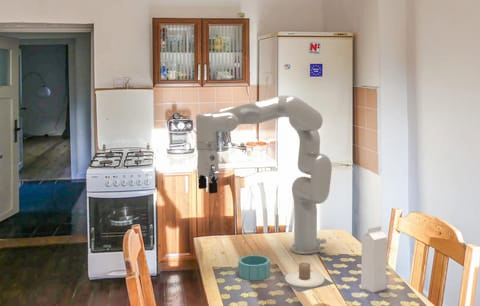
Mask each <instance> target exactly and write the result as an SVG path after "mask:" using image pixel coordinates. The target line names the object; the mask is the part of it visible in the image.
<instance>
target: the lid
mask: <svg viewBox="0 0 480 306" xmlns="http://www.w3.org/2000/svg"><path fill="white" fill-rule="evenodd" d="M310 270H311V263H309V262H300V263H299V264H298V270H295V271H291V272H289V273H287V274H286V276H285V275H284V276H285V281H286V283H287V284H289V285H291V286H294V287H298V288H314V287H318V286H321V285H322V284H323V283H324V278H325V277H324V276H323V275H322V274H321V273H319V272H316V271H313V272H312V270H311V271H310ZM287 284H286V285H287ZM318 288H319V287H318ZM314 289H315V288H314Z"/></svg>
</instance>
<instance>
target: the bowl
mask: <svg viewBox="0 0 480 306" xmlns="http://www.w3.org/2000/svg"><path fill="white" fill-rule="evenodd" d="M270 262H271V259H270V258H269V257H267V256H265V255H260V254H249V255H244V256H241V257H239V258H238V277H239V278H240V279H242V280H245V281H249V282H250V281H255V282H256V281H258V282H259V281H263V280H266V279H268V278H270V276H271V263H270Z"/></svg>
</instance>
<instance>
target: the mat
mask: <svg viewBox="0 0 480 306" xmlns="http://www.w3.org/2000/svg"><path fill="white" fill-rule="evenodd" d="M310 271H312V270H311V269H310ZM312 272H314V271H312ZM286 275H287V274H286ZM286 275H285V274H284V275H282V276H277V277H275V278H276V279H277V280H279V281H280V282H282V283H283V284H286V285H287V286H288V287H290V288H291V289H293V290H294V291H296V292H298V293H300V292H301V293H302V292H305V291H309V290H313V289H318V288H321V287H327V286H331V285H334V284H335V283H334V282H332V281H331V280H328V279H327V278H326V277H324V283H323V284H322V285H321V286H318V287H314V288H298V287H294V286H291V285H289V284H287V283H286V281H285V276H286Z"/></svg>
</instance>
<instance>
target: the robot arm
mask: <svg viewBox="0 0 480 306" xmlns="http://www.w3.org/2000/svg"><path fill="white" fill-rule="evenodd" d="M284 117H285V118H288V121H289V125H290V126H291V127H292V128H293V129H294V130H295V132H296V133H297V135H298V138H299V146H298V155H297V156H298V157H297V168H298V171H300V172H301V173H303V174H305V175H309V176H310V177H307V176H300V177H297V178H296V179H295V180H294V181H293V182H292V185H291V193H292V198H293V210H294V211H293V212H294V214H293V217H294V219H293V221H294V223H293V224H294V225H293V228H294V229H293V231H294V234H293V236H294V239H293V241H294V242H293V244H292V245H291V246H290V251H291V252H292V253H294V254H299V255H315V254H319V252H321V247H320V245H321V244H322V245H323V244H327V239H326V238H322V239H320V238H319V237H318V234H317V233H318V225H317V224H318V217H317V215H318V207H317V205H321V204H323V203H324V202H325V201H327V200H328V197H329V194H330V190H331V189H330V187H331V180H332V179H331V178H332V170H333V169H332V167H333V166H332V162H331V160H330V158H329V157H328V155H325V154H323V153H321V152H320V151H321V147H320V146H321V138H320V137H321V136H320V133H319V130H320V129H321V128H322V125H323V123H324V122H323V121H324V119H323V116H322V115H321V113H320V112H319V111H318V110H317V109H315V108H314V107H313V106H311V105H309V104H308V103H306V102H305V101H304V100H302V99H300V98H299V97H297V96H294V95H278V96H272V97H269V98H266V99H262V100H261V99H260V100H257V101H254V102H248V103H245V104H241V105H235V106H231V107H227V108H223V109H218V110H215V111H214V112H200V113H197V114H196V116H195V127H196V128H195V129H196V130H195V131H196V132H195V134H196V136H195V137H196V151H197V165H196V170H197V179H198V180H197V182H198V189H199V190H202V189H207V187H208V193H209V194H210V195H212V194H217V193H218V182H219V181H218V179H219V175H220V170H219V169H220V167H219V157H218V152H217V150H218V148H217V147H218V146H217V145H218V142H217V141H218V140H217V132H224V133H231V132H233V131H234V130H236V129H237V127H239V125H256V124H261V123H266V122H268V121H272V120H276V119H280V118H284ZM207 178H208V181H209V182H208V183H207Z"/></svg>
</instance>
